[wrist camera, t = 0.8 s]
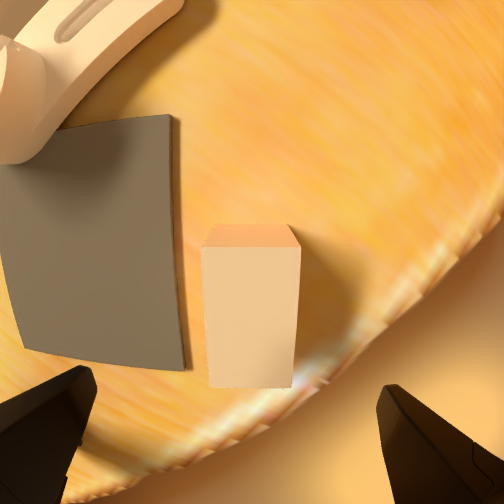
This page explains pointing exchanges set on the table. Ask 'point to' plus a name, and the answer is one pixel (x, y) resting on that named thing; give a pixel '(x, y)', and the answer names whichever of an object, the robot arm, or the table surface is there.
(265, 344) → the card deck box
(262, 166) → the table surface
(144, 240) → the grey rubber mat
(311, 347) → the table surface
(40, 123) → the bracket
